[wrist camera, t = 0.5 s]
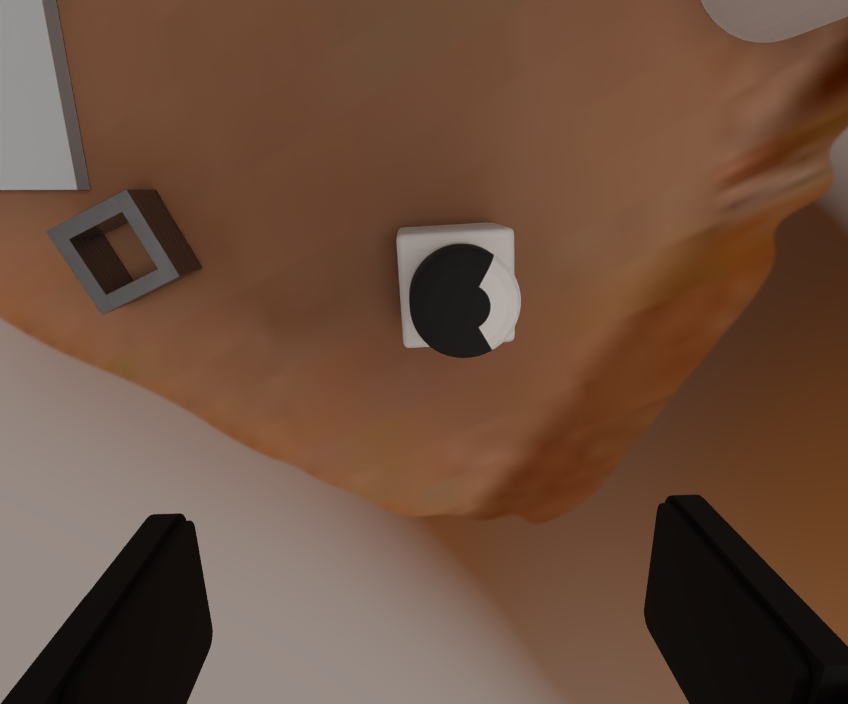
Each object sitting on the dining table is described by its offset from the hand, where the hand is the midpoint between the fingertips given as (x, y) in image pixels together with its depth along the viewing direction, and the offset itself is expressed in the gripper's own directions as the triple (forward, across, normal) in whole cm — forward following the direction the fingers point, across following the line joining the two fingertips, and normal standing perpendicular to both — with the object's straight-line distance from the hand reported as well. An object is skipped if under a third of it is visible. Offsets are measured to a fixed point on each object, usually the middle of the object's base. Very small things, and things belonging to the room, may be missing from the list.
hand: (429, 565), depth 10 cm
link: (+30, +19, -4) cm, 36 cm away
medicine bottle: (+30, -3, -1) cm, 30 cm away
